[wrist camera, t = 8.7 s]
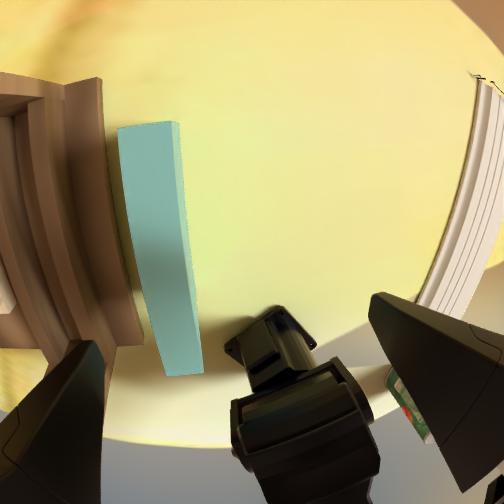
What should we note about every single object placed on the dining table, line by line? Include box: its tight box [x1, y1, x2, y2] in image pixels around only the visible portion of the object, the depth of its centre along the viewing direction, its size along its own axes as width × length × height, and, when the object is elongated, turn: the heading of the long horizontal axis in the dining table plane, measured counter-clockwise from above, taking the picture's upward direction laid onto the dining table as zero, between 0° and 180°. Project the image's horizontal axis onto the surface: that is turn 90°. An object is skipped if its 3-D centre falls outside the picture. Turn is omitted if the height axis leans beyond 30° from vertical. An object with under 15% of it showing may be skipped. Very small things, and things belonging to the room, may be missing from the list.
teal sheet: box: [117, 121, 204, 377], centre depth 16 cm, size 2×12×9 cm, turn 2°
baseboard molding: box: [413, 75, 504, 320], centre depth 26 cm, size 31×3×12 cm
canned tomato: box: [385, 367, 435, 444], centre depth 30 cm, size 8×8×11 cm
